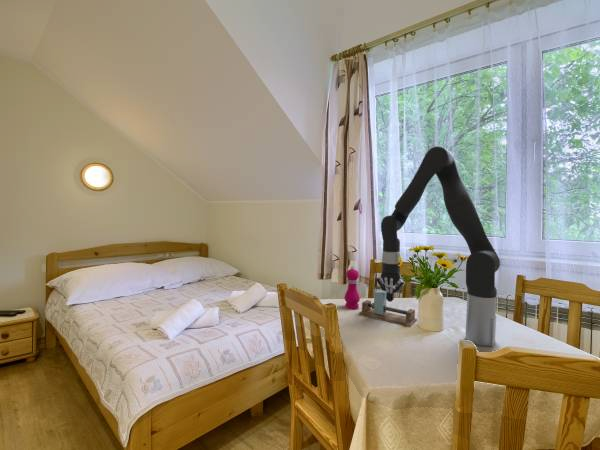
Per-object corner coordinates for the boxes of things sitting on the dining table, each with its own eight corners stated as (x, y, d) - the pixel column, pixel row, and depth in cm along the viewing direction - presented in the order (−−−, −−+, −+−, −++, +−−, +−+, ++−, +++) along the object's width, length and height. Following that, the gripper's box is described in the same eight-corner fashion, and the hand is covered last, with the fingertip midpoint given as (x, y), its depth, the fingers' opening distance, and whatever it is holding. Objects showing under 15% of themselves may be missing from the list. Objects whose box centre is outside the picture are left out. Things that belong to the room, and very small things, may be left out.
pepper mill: (360, 309, 152) (361, 267, 150) (345, 309, 152) (345, 267, 151) (358, 305, 159) (359, 264, 158) (343, 304, 159) (344, 264, 158)
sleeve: (386, 312, 144) (386, 291, 143) (382, 314, 141) (382, 293, 140) (377, 310, 146) (378, 290, 146) (373, 313, 143) (374, 292, 143)
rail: (416, 321, 138) (417, 308, 137) (410, 326, 131) (410, 313, 131) (367, 310, 152) (367, 298, 151) (359, 314, 145) (359, 302, 145)
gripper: (409, 262, 138) (408, 301, 139) (380, 258, 146) (379, 296, 147) (403, 264, 132) (401, 306, 134) (372, 261, 140) (372, 300, 142)
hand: (389, 301), depth 140 cm, fingers closed
